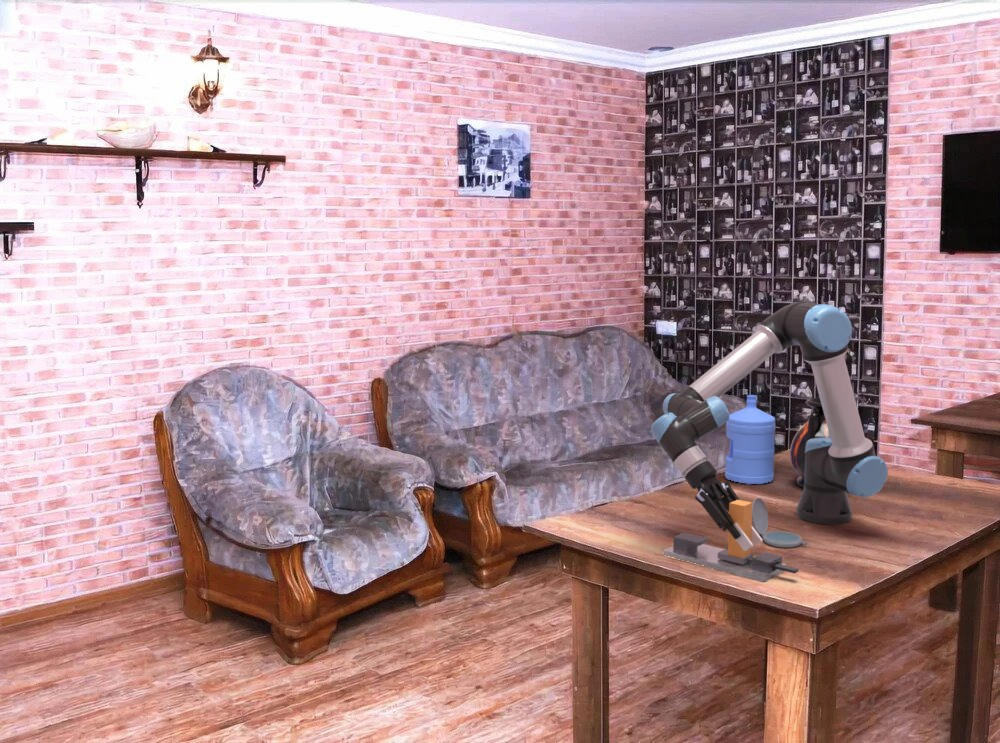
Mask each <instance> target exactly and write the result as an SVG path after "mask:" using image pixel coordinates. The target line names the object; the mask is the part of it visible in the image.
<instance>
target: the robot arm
mask: <svg viewBox="0 0 1000 743" xmlns="http://www.w3.org/2000/svg"><path fill="white" fill-rule="evenodd" d="M852 327H853V325H852V322H851V319H850V318H849V316H848V315H847V314H846V313H845V311H843V310H842V309H840V308H838V307H836V306H834V305H831V304H830V305H829V304H825V303H821V304H818V303H811V302H805V301H803V302H802V301H797V302H793V303H789V304H787V305H786V306H783V307H781V308H780V309H778V310H777V311H775V312H774V313H772V314H771V315H770V316H768V317H767V318H766V319H764V320H763V321H762V322H760V324H758V325H757V326H756V330H755V332H754V333H753V334H752V335H751V336H749V337H747V339H746V340H744V341H743V342H742V343H741V344H739V345H738V346H737V347H735V348H734V349H733V350H732V351H731V352H730V353H728V354H727V355H726V356H724V357H723V358H722V359H721V360H720V361H718V362H717V363H715V365H714V366H712V367H711V368H710V369H708V370H707V371H706V372H704V374H702V375H701V376H700V377H699V378H697V379H695V381H694V382H692V383H691V384H690V385H689V386H687V387H686V388H685V389H684V390H683V391H681V392H674V393H670V394H669V395H667V396H666V397H665V398H664V400H663V403H662V411H663V413H664V414H663V415H661V416H660V417H658V418H657V419H656V420H655V421H654V422H653V423H652V424H651V427H650V433H651V434H652V436H653V437H654V439H655V440H656V442H657V444H658V445H659V446H660V447H661V448H662V450H663V451H664V452H665V453H666V455H667V456H668V458H670V461H671V462H672V463H673V464H674V465H675V467H676V468H677V470H678V471H679V472H680V474H681V475H682V476H684V480H685V481H686V483H688V485H689V487H690V488H691V489H693V490H697V492H698V493H697V494H696V496H694V499H695V500H696V501H697V502H698V503H699V504H700V505H701V506H702V508H703V509H704V510H705V512H706V513H707V514H708V515H709V517H710V518H711V519H712V520H713V522H714V523H715V524H716V526H717V528H719V529H721V530H722V531H723V532H725V531H728V533H729V532H730V533H731V534H732V536H733V537H734V538H735V540H736V541H737V542H738V544H739V545H740V546H741V548H742V549H743V550H744V552H745V551H746V550H748V549H749V548H750V547H751V548H752V547H754V548H755V547H756V546H758V545H759V544H760V543H762V542H764V540H763V537H762V536H760V534H759V533H758V532H757V531H756V530H755V528H754V525H752V531H751V541H750V540H749V538H748V537H747V536H746V534H745V533H744V532H743V530H742V529H741V528H740V526H739V525H738V524H737V523H735V524H734V522H733V520H732V518H731V517H730V515H729V503H731V502H733V501H736V500H741V499H740V498H739V496H738V494H736V492H735V491H734V489H733V488H732V486H731V483H730V482H729V481H725V482H722V481H721V480H719V479H718V478H717V477H716V475H717V469H716V468H715V467H714V466H713V464H712V463H711V461H710V460H708V457H707V456H706V454H705V453H704V452H703V451H702V449H701V448H700V447H699V445H698V444H697V443H696V441H699V440H700V439H701V438H703V437H705V436H706V435H708V434H710V433H711V432H713V431H715V430H717V429H718V428H720V427H721V426H722V425H723V424H726V423H727V421H728V420H729V415H730V411H729V410H728V407H727V405H726V404H725V402H724V401H723V400H722V399H721V397H722V396H723V395H724V394H725V393H727V392H728V391H729V390H730V389H732V388H733V387H734V386H735V385H737V384H738V383H739V382H741V380H743V379H744V378H745V377H747V376H748V375H749V374H750V373H751V372H753V371H754V370H755V369H756V368H758V367H759V366H760V365H762V364H763V363H764V362H765V361H766V360H768V359H769V358H770V357H771V356H773V355H774V354H781V353H782V352H783V351H785V350H786V349H788V348H790V347H793V346H799V348H800V351H801V355H802V359H803V361H804V362H806V363H808V364H810V366H811V369H812V373H813V374H812V375H813V377H814V382H815V384H816V389H817V393H818V395H819V398H820V400H821V404H822V408H823V412H824V415H825V419H826V423H827V427H828V430H829V434H830V438H813V439H810V440H808V441H807V443H806V448H805V472H804V488H803V490H802V493H801V495H800V498H799V501H798V504H797V506H796V514H795V515H796V517H798V518H799V519H801V520H803V521H806V522H809V523H815V524H821V525H822V524H823V525H842V524H846V523H849V522H851V521H852V520H853V510H852V507H851V504H850V499H849V497H848V494H850V495H851V496H854V497H855V496H857V497H862V498H869V497H873V496H874V495H875V494H877V493H879V492H880V491H881V490H882V489H883V487H884V484H886V482H887V479H888V477H889V476H888V474H889V472H888V469H889V468H888V465H887V464H886V462H885V461H884V459H882V458H881V457H879V456H877V455H876V452H875V447H874V444H873V442H872V440H871V439H869V438H868V437H865V433H864V429H863V425H862V420H861V416H860V414H859V410H858V405H857V402H856V397H855V393H854V389H853V386H852V382H851V379H850V374H849V371H848V366H847V364H846V358H845V355H846V354H847V353H848V351H849V345H848V344H849V343H850V337H852V335H853V328H852ZM733 524H734V525H733Z"/></svg>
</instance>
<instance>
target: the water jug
mask: <svg viewBox="0 0 1000 743" xmlns="http://www.w3.org/2000/svg"><path fill="white" fill-rule="evenodd" d="M725 424H726V427H725V428H726V438H728V439H729V451H728V452H729V453H728V454H727V455H726V456H725V470H724V476H725V478H726V479H727V480H728V481H730V480H731V481H730V482H732V481H734V482H733V483H735V482H739V483H738V484H740V483H746V484H745V485H751V484H757V485H765V484H764V483H766V484H769V483H771V482H772V481H773V480H774V477H775V473H774V469H775V468H774V465H775V464H774V462H775V460H774V459H775V438H776V436H775V434H776V418H775V417H774V416H773V415H771V414H769V413H767V412H765V411H763V410H761V409H759V408H757V395H755V394H747V395H746V406H745V408H742V409H740V410H738V411H735V412H733V413H731V414H730V413H729V420H728V421H727V422H725ZM768 482H769V483H768Z"/></svg>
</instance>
